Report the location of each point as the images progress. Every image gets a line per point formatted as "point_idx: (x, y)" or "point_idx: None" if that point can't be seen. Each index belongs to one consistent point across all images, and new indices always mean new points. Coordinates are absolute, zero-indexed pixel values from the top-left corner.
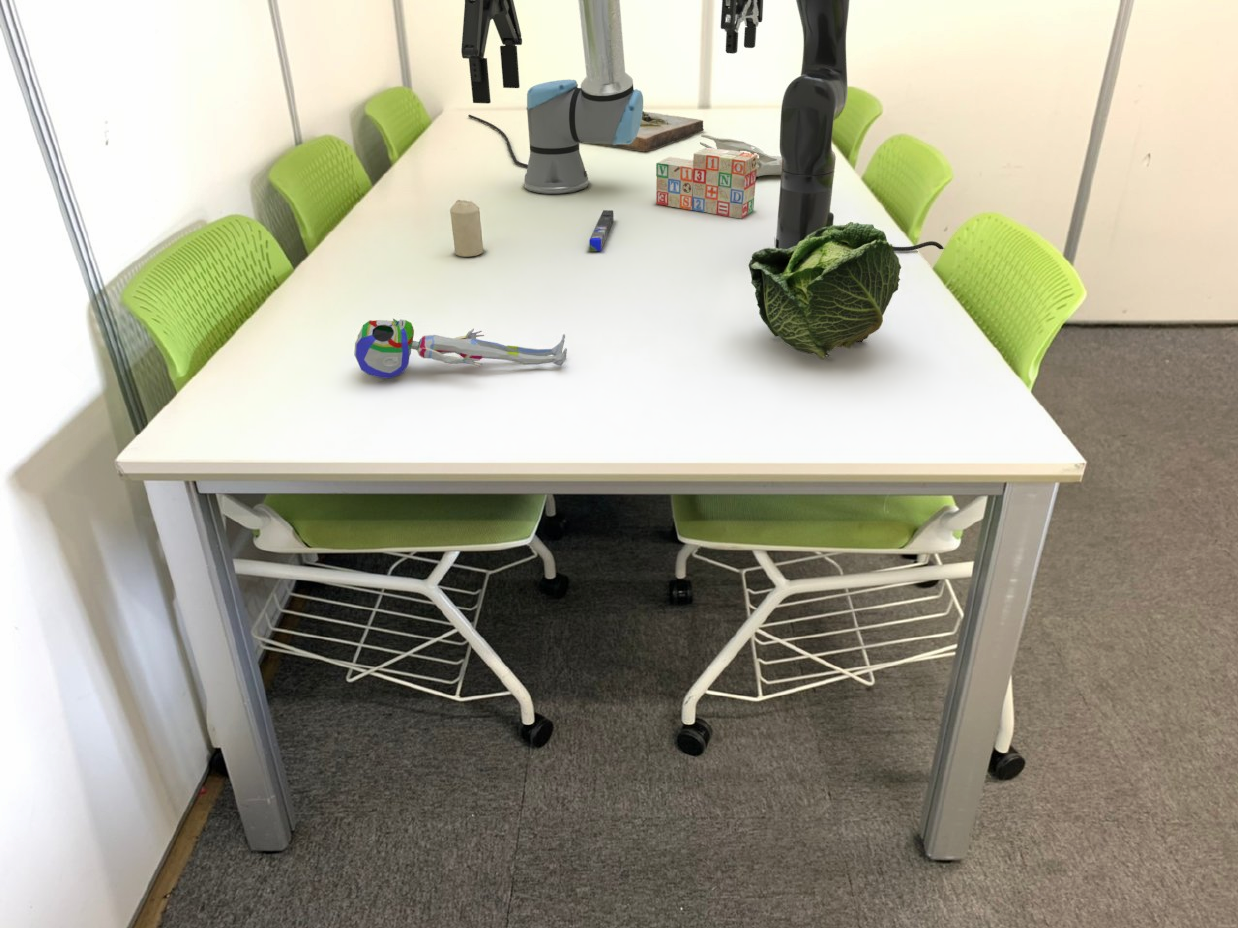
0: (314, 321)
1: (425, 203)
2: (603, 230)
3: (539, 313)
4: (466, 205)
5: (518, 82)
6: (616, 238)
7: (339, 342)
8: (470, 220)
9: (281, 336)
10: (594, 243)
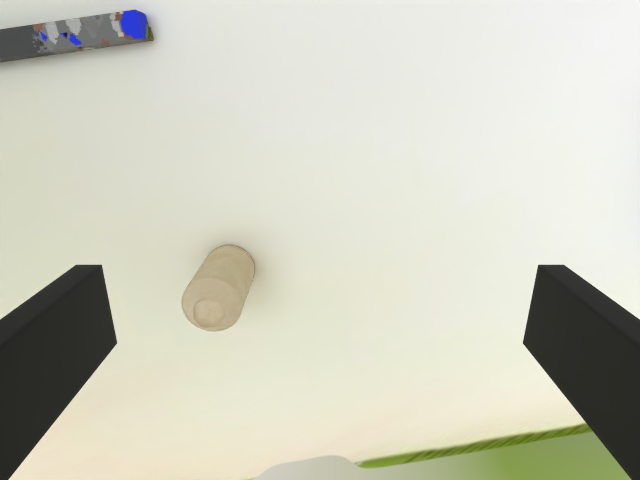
0: None
1: None
2: (66, 22)
3: (488, 38)
4: (220, 301)
5: (71, 278)
6: (45, 3)
7: None
8: (234, 280)
9: None
10: (142, 25)
